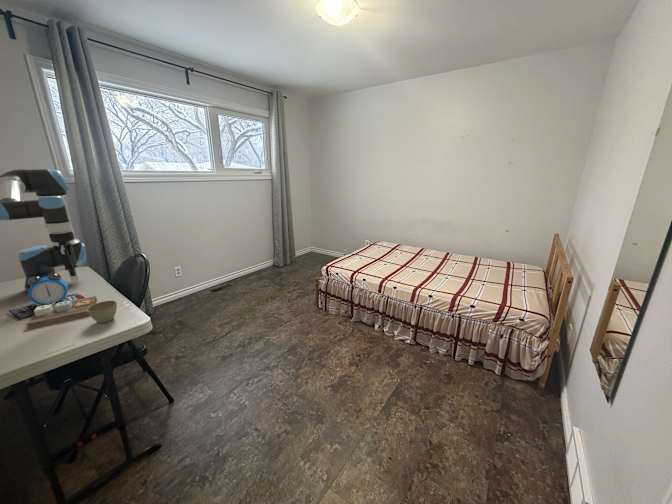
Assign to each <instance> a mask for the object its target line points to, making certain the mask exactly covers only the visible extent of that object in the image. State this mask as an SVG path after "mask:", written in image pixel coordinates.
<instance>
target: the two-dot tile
mask: <svg viewBox="0 0 672 504" xmlns="http://www.w3.org/2000/svg"><path fill="white" fill-rule="evenodd" d="M72 306H73V305H72V300H71V299H70V300H65V301H62V302H58V303H56V306H55V308H56V311H57V312H60V311H65V310H70V309H71V308H72Z"/></svg>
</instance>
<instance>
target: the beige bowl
mask: <svg viewBox="0 0 672 504" xmlns="http://www.w3.org/2000/svg"><path fill="white" fill-rule="evenodd" d="M117 307H118V305H117V301H116V300H104V301H100V302H96V304H94V305H92V306H90V307H88V308H87V312H88V314H89V315H88V316H89V317H90V318H91V319H93V320H94V321H95V322H97V323H98V324H106V323H109V322H111V321H113V319H114V318H115V316H116V312H117Z"/></svg>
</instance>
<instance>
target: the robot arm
mask: <svg viewBox="0 0 672 504" xmlns="http://www.w3.org/2000/svg"><path fill="white" fill-rule="evenodd" d="M69 191H70V189H69V187H68V185H67V183H66V181H65V179H64V176H63V174H62V172H61V170H58V169H49V168H48V169H45V168H43V169H38V168H37V169H22V168H21V169H20V168H19V169H12V170H9V171H5V172H4V173H1V174H0V221H13V220H23V219H24V220H25V219H36V218H43V220H44V223H45V225H44V228H46V229H47V232H48V233H49V234H48V236H49V240H50V242H52V245H51V246H52V247H48V245H46V244H43V245H36V246H32V247H29V248H26V249H25V248H24V249H22V250H20V251H18V253H17V256H18V259H19V260H18V262H19V263H20V265H21V268H22V271H23V273H24V277H25V280H24V290H25V292H26V293H28V291H29V289H30V287H31V285H32V284H31V285H29V284H28V280H29V279H30V278H32V277H34V276H39V277H41V278H43V277H42V276H46V277H48V275H49V274H52V273H57V272H56V270H55V268H59V267H64V268H65V269H64V270H65V271H67V272H68V276H69V279H70V281H71V283H72V284H73V283H74V284H75V283H78V282H81V279H80V275H79V273H78V268H79V265H77V264H81V263H84V262H85V261H86V260H87V253H86V252H87V251H86V245H85V243H84V242H81V241H80V239H78V238H76V235H75V231H74V228H73V225H72V221H71V218H70V214H69V210H68V208H67V203H66V201H65V197H67V196H68V195H67V193H68V192H69ZM29 193H30V194H31V193H32V194H33V193H34V194H35V195H36V197H37V200H36V199H35V200H33V199H32V200H24V194H29ZM61 279H62V278H61ZM62 280H63V279H62Z"/></svg>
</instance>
